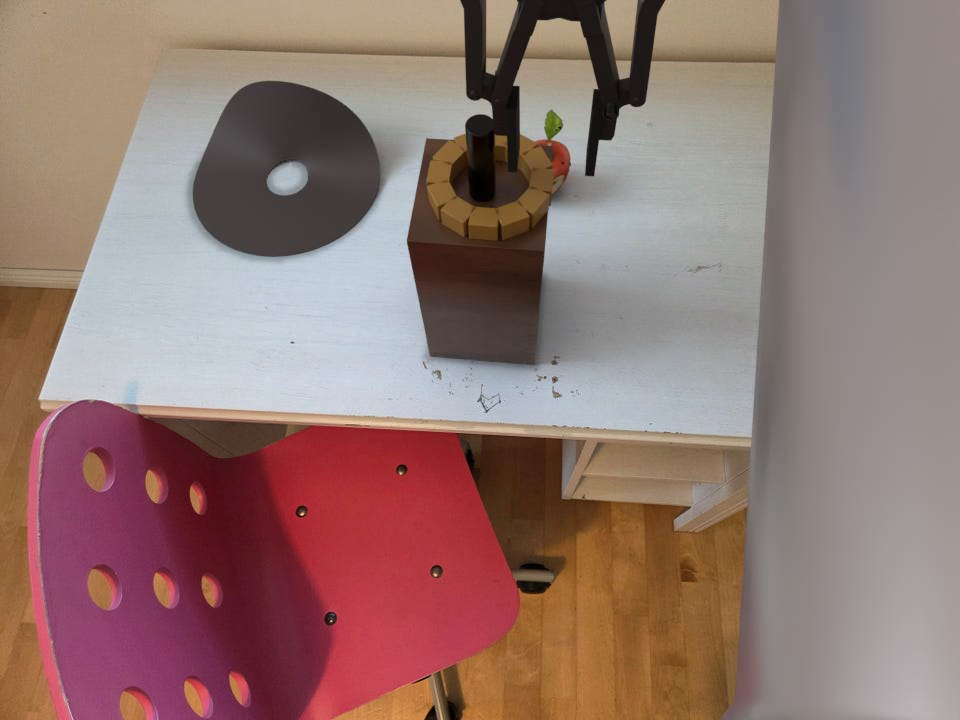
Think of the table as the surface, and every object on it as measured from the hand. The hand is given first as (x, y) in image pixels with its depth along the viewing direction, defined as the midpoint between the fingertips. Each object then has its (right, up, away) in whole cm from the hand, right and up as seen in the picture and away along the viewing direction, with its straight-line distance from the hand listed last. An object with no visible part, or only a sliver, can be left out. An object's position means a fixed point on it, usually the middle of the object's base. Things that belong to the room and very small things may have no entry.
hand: (551, 161), depth 58 cm
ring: (-5, -1, +5) cm, 7 cm away
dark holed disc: (-32, +5, +34) cm, 47 cm away
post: (-6, -1, +5) cm, 7 cm away
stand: (-5, -11, +24) cm, 27 cm away
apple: (+2, +6, +33) cm, 33 cm away
